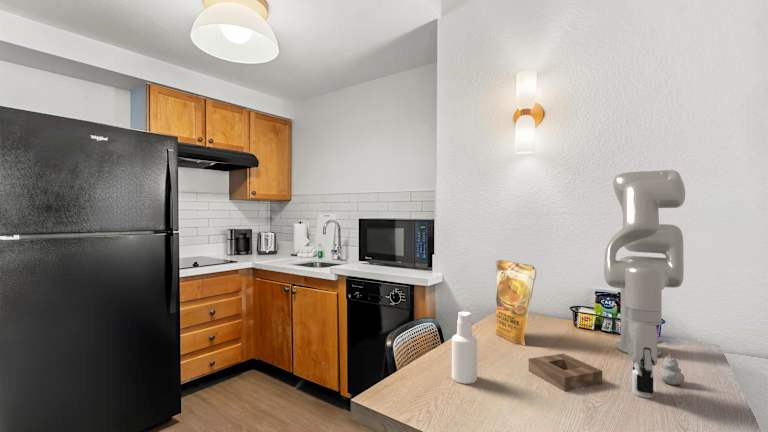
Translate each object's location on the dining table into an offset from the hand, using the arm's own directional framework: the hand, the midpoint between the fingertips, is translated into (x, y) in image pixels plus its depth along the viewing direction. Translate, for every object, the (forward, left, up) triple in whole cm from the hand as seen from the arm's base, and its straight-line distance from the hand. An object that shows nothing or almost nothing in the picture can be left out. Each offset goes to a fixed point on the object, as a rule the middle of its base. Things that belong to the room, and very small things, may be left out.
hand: (642, 386), depth 91 cm
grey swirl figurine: (-14, -2, -2) cm, 14 cm away
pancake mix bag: (+3, -46, -2) cm, 46 cm away
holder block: (+11, -14, -2) cm, 18 cm away
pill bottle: (0, 0, -2) cm, 2 cm away
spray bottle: (+38, -22, -2) cm, 44 cm away
